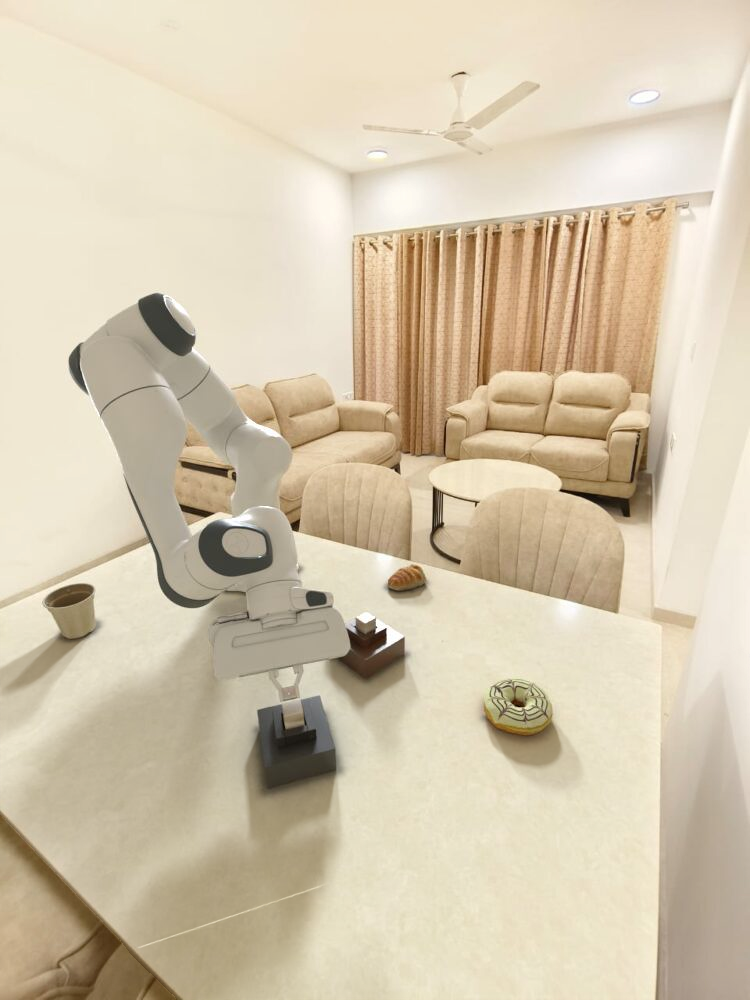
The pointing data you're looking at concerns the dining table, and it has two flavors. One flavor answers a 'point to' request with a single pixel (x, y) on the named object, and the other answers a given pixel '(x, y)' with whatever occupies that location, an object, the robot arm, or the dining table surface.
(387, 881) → the dining table surface
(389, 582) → the pastry
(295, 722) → the front key
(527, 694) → the decorated donut
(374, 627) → the back key
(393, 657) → the walnut key block
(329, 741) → the black key block
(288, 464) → the robot arm
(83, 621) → the flower pot
